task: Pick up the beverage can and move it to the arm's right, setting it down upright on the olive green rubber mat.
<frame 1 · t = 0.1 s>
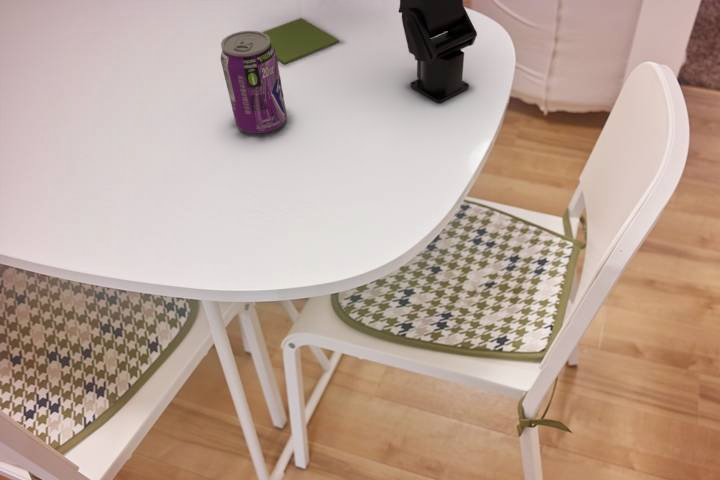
mat: (293, 41, 102), on the table
beverage can: (262, 124, 86), on the table
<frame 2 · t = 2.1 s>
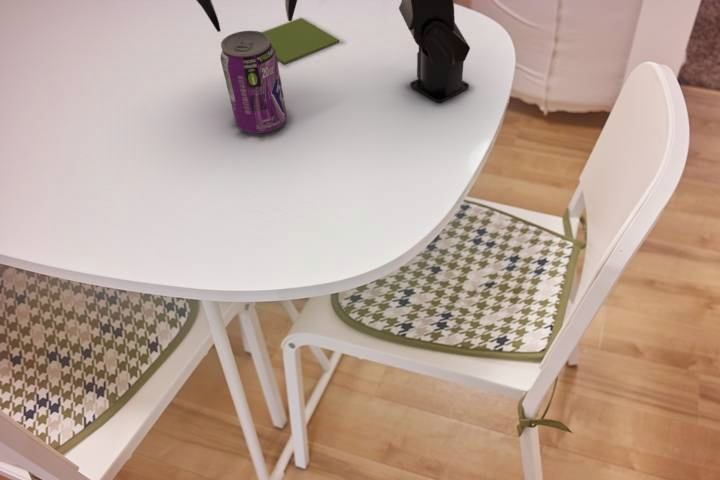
hand: (254, 25, 79), 12 cm above the table, tool pointing down, fingers open, 9 cm apart
nothing on the table moved.
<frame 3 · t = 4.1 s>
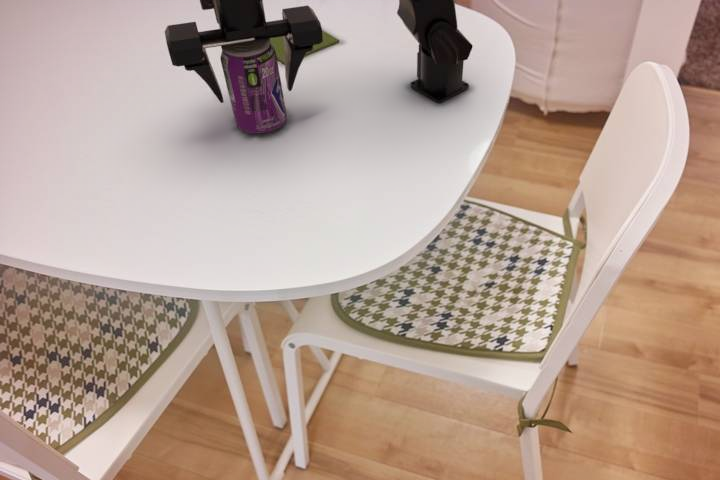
hand: (256, 95, 83), 4 cm above the table, tool pointing down
beverage can: (262, 124, 86), on the table, touching gripper
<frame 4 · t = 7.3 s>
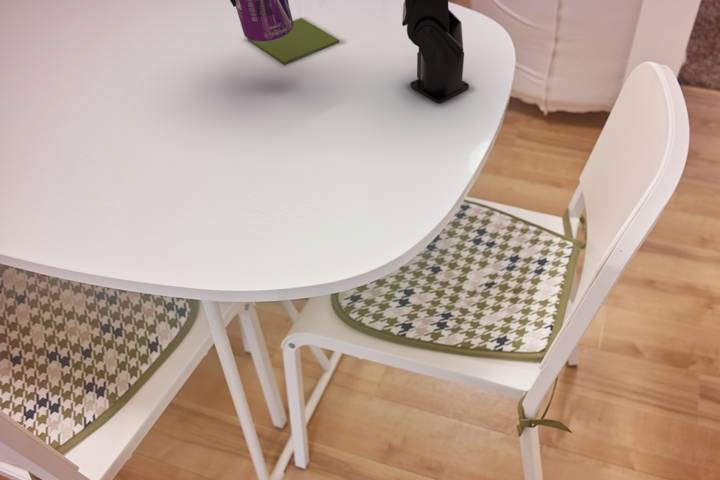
hand: (261, 1, 83), 13 cm above the table, tool pointing down, fingers closed on beverage can, 7 cm apart
beverage can: (270, 34, 87), point 8 cm above the table, touching gripper
when the fingers open (5 cm above the table, at t = 10.8 s): beverage can stays where it is, resting on mat.
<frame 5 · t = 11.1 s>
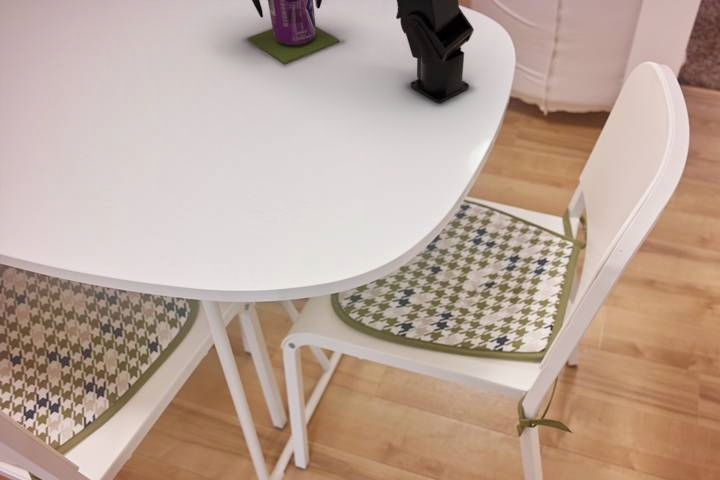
hand: (289, 11, 99), 5 cm above the table, tool pointing down, fingers open, 9 cm apart
beverage can: (295, 39, 102), resting on mat, touching gripper
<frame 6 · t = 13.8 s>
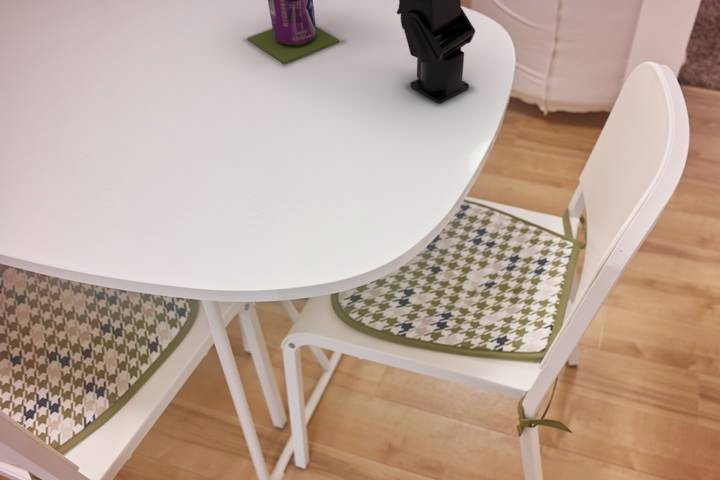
beverage can: (295, 39, 102), resting on mat
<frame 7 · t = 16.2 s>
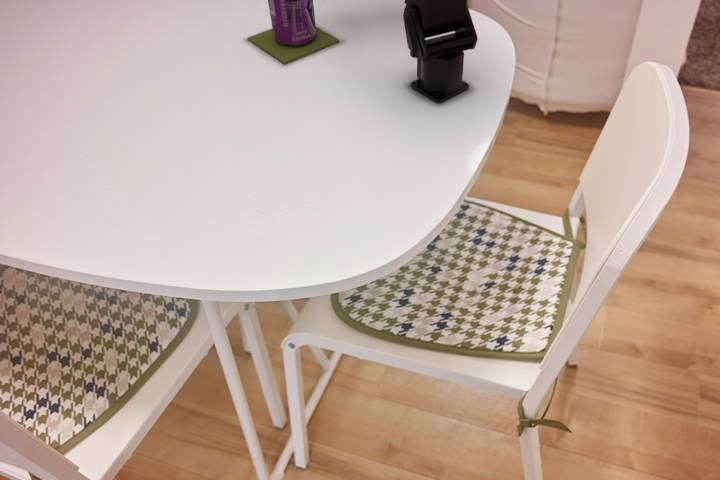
nothing on the table moved.
at the end: beverage can inside the target area on the mat (0.4 cm from its centre), point 0.2 cm above the mat's base; beverage can tilted 0°; the gripper is holding nothing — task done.
